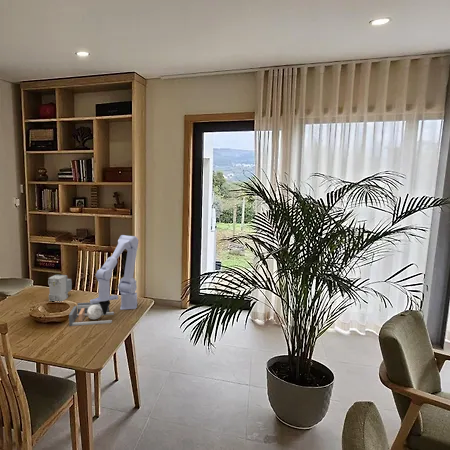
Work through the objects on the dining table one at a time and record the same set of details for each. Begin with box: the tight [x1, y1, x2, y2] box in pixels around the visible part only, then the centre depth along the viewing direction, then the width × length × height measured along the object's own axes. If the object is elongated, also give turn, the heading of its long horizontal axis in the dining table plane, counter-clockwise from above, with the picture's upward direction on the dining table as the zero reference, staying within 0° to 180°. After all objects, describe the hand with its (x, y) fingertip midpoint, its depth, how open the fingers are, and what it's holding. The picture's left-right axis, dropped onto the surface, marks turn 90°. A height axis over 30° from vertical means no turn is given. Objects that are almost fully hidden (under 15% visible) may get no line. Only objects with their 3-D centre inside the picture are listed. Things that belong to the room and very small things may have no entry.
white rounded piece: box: [86, 305, 103, 320], centre depth 175 cm, size 8×8×8 cm
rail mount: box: [68, 301, 115, 327], centre depth 176 cm, size 21×16×6 cm
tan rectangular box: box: [78, 308, 86, 322], centre depth 173 cm, size 2×8×5 cm, turn 14°
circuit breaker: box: [47, 274, 73, 302], centre depth 203 cm, size 8×14×15 cm, turn 174°
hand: (104, 313), depth 176 cm, fingers closed
